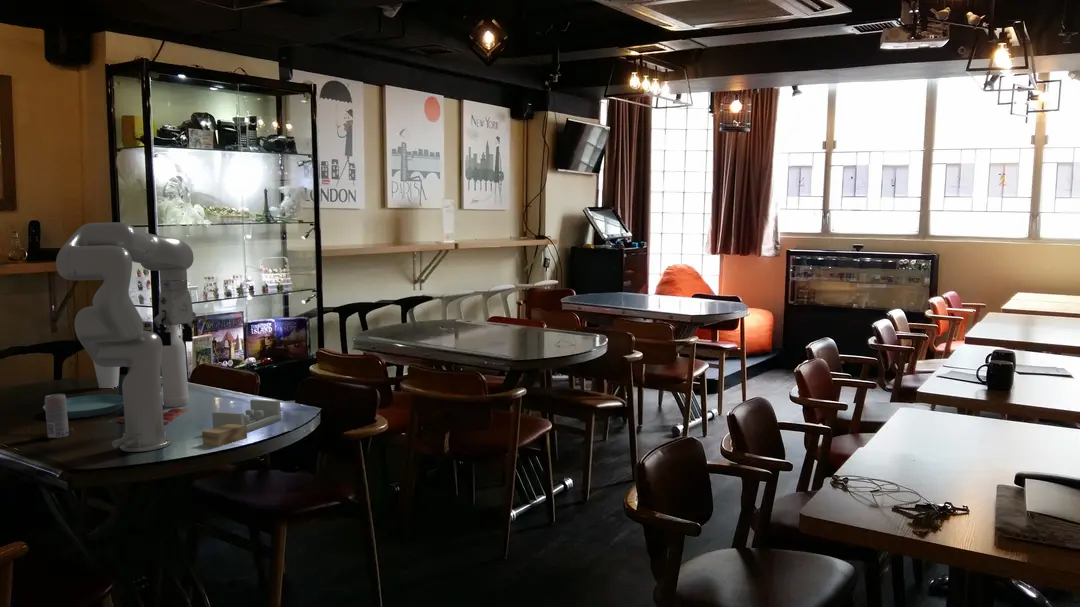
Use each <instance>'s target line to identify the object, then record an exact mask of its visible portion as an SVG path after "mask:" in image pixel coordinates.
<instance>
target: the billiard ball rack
mask: <svg viewBox="0 0 1080 607" xmlns="http://www.w3.org/2000/svg"><path fill="white" fill-rule="evenodd" d="M187 410H188V411H189V408H179V407H174V408H171V409H169V410H168V411H163V420H164V425H166V426H168V425H167V424H169V422H170V421H171V422H172V420H173V419H174V420H175V418H176V417H177V418H178V416H179V415H180V416H181V414H182V413H183V414H185V413H186V412H188V411H187ZM185 411H186V412H185ZM184 412H185V413H184ZM183 414H182V415H183ZM180 416H179V417H180ZM177 418H176V419H177ZM174 420H173V421H174ZM116 422H117V423H118V422H121V424H125V416H120V417H117V418H116ZM171 422H170V423H171Z"/></svg>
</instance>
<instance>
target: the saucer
mask: <svg viewBox="0 0 1080 607" xmlns="http://www.w3.org/2000/svg"><path fill="white" fill-rule="evenodd" d="M66 404H67V416H68V419H81V418H80V417H85V418H91V417H90V416H93V417H98V415H99V416H102V415H103V414H104V415H108V414H111V412H112V413H115V412H117V411H119V410H120V409H121V408H122V407H124V402H123V395H117V394H94V395H93V394H92V395H82V396H75V397H66ZM42 410H44V411H45V404H44V405H43V406H42ZM114 411H115V412H114ZM45 413H46V411H45ZM107 413H108V414H107Z"/></svg>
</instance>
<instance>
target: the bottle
mask: <svg viewBox="0 0 1080 607" xmlns="http://www.w3.org/2000/svg"><path fill="white" fill-rule="evenodd" d="M165 327H166V326H165ZM169 332H171V346H162V357H161V388H162V404H163V407H164V408H180V406H181V407H185V405H186V406H188V405H190V401H189V400H190V396H189V386H188V374H187V373H188V370H187V356H186V345H185V342H183V338H182V339H181V337H179V336H178V325H172V326H171V328H170V330H169ZM187 404H188V405H187Z"/></svg>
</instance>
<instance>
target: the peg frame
mask: <svg viewBox="0 0 1080 607" xmlns="http://www.w3.org/2000/svg"><path fill="white" fill-rule="evenodd" d="M249 401H250V409H246V410H245V414H244V413H243V412H229V411H228V412H227V411H217V410H216V411H215V410H214V411H212V413H211V416H212V428H216V427H220V426H223V425H227V424H230V423H233V424H241V425H246V428H247V434H248V433H251V432H255V431H256V430H260V429H261V428H264V427H267V426H271V425H273V424H275V422H276V423H278V422H281V421H282V410H281V409H282V408H281V400H269V399H267V400H266V399H254V398H252V399H250V400H249ZM280 420H281V421H280ZM277 421H278V422H277Z"/></svg>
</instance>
